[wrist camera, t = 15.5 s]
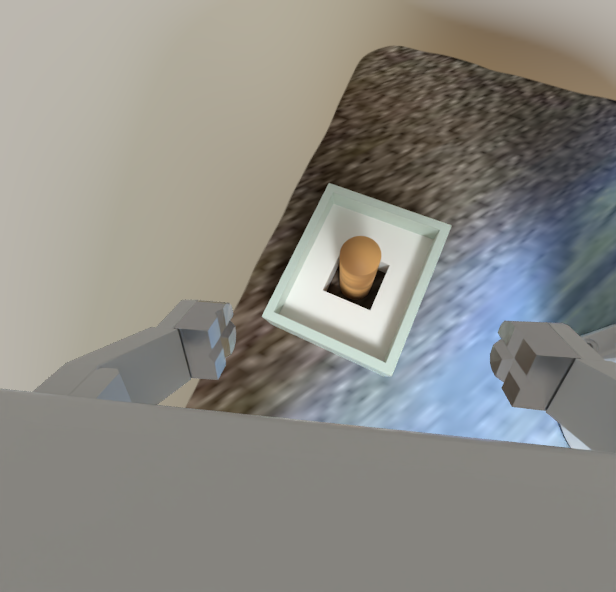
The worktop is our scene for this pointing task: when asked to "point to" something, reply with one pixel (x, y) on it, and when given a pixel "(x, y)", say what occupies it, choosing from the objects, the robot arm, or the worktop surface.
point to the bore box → (394, 262)
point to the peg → (358, 266)
